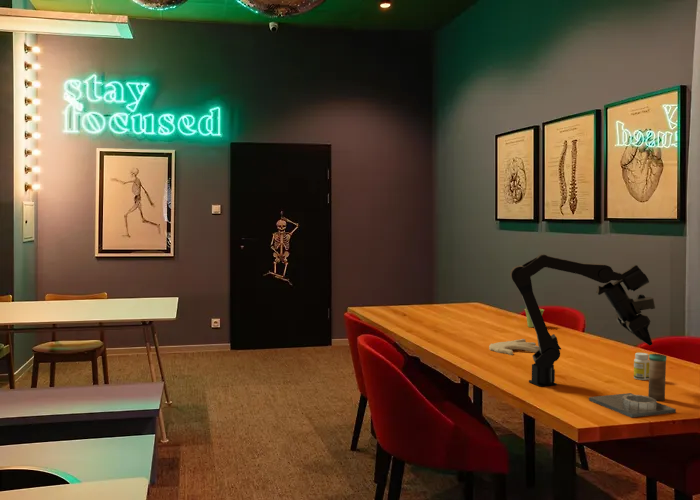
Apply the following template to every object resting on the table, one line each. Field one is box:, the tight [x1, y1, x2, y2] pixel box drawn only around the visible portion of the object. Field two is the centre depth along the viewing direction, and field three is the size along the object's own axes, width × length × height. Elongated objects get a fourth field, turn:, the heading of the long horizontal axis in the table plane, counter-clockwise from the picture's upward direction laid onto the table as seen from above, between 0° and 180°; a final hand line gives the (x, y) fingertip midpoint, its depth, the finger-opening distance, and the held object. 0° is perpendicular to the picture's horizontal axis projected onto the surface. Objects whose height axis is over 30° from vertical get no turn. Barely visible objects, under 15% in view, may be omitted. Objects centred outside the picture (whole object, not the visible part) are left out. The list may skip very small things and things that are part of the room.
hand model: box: [488, 338, 539, 356], centre depth 260 cm, size 19×5×20 cm
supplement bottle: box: [633, 352, 649, 381], centre depth 215 cm, size 5×5×8 cm
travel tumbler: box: [647, 353, 667, 402], centre depth 190 cm, size 5×5×13 cm
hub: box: [588, 392, 677, 419], centre depth 182 cm, size 15×17×3 cm
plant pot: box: [524, 308, 545, 328], centre depth 318 cm, size 9×9×9 cm
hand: (646, 342), depth 201 cm, fingers open, 9 cm apart
